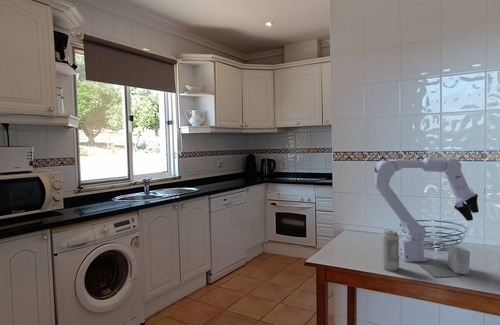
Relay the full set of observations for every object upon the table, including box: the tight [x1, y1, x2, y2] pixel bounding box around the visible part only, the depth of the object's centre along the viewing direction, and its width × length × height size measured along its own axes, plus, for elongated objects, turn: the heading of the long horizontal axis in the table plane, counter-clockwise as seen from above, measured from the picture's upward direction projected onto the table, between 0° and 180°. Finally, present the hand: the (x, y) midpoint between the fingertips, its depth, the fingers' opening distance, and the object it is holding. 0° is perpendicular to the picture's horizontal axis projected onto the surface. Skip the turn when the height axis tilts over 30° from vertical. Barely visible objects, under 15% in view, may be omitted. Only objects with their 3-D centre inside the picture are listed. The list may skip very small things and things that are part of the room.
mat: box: [419, 264, 461, 279], centre depth 123 cm, size 9×11×1 cm
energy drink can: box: [381, 229, 400, 272], centre depth 127 cm, size 6×6×15 cm
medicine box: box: [447, 244, 471, 275], centre depth 122 cm, size 8×4×9 cm, turn 169°
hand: (472, 216), depth 132 cm, fingers open, 7 cm apart
